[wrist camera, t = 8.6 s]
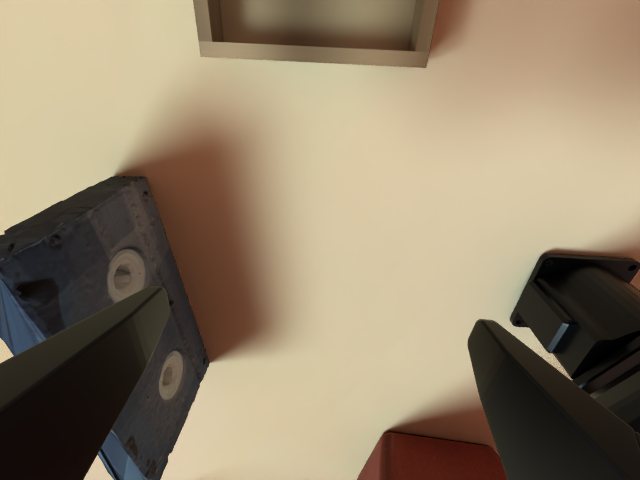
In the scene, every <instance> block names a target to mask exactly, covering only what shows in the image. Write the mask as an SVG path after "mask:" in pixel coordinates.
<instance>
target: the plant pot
mask: <svg viewBox="0 0 640 480" xmlns="http://www.w3.org/2000/svg"><path fill="white" fill-rule="evenodd" d="M357 480H508V479H507V476H506V473H505V470H504V467H503V464H502V462H501V459H500V456H499V455H498V454H497V453H496V452H495V451H494V450H493V449H492V448H491V447H488V446H483V445H476V444H469V443H462V442H455V441H449V440H441V439H434V438H427V437H420V436H413V435H406V434H399V433H386V434H384V435H382V437H381V438H380V440H379V442H378V443H377V445H376V447H375V448H374V450H373V452H372V454H371V456H370V457H369V459H368V461H367V463H366V464H365V466H364V468H363V470H362V471H361V473H360V475H359V477H358V479H357Z"/></svg>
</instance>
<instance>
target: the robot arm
mask: <svg viewBox="0 0 640 480" xmlns="http://www.w3.org/2000/svg"><path fill="white" fill-rule="evenodd" d="M549 260H550V261H549ZM547 261H549V262H547ZM546 262H547V263H546ZM639 269H640V263H639V262H638V261H636V260H635V259H632V258H615V257H598V256H581V255H564V254H545V255H543V256H541V257H540V258H539V260H538V262H537V264H536V266H535V268H534V270H533V272H532V274H531V276H530V278H529V280H528V282H527V284H526V286H525V288H524V290H523V293H522V295H521V297H520V299H519V301H518V303H517V305H516V307H515V309H514V311H513V313H512V315H511V317H510V321H511V323H512V324H513V325H514V326H516V327H529V328H530V329H531V330H532V332H533V333H534V335H535V336H536V337H537V339H538V340H539V341H540V343H541V344H542V346H543V347H544V348H545V350H546V351H547V352H548V353H553V354H554V356H555V357H556V358H557V360H558V361H559V362H560V364H561V365H562V366H563V368H564V369H565V370H566V372H567V373H568V374H569V376H570V377H571V378H572V379H573V380H572V381H571V380H570V379H569V378H567V377H566V376H565V375H563V374H562V373H561V372H560V371H558V370H557V369H556V368H554V367H553V366H552V365H551V364H549V363H548V362H547V361H545V360H544V359H543V358H542V357H540V356H539V355H538V354H536V353H535V352H534V351H533V350H531V349H530V348H529V347H527V346H526V345H525V344H524V343H522V342H521V341H520V340H518V339H517V338H516V337H515V336H513V335H512V334H511V333H510V332H508V331H507V330H506V329H504V328H503V327H502V326H501V325H499V324H498V323H497V322H495V321H493V320H486V319H479V320H478V321H477V322H476V323H475V325H474V328H473V330H472V332H471V334H470V336H469V339H468V350H469V354H470V358H471V362H472V367H473V371H474V375H475V380H476V384H477V388H478V392H479V396H480V400H481V403H482V406H483V409H484V412H485V415H486V418H487V421H488V424H489V427H490V430H491V433H492V435H493V438H494V441H495V444H496V447H497V450H498V453H499V456H500V459H501V462H502V464H503V467H504V470H505V473H506V476H507V479H508V480H640V291H639V290H638V289H637V288H635V287H634V286H633V285H631V284H630V282H631V280H632V279H633V277H634V276H635V275H636V273H637V272H638V270H639ZM169 314H170V306H169V302H168V297H167V293H166V290H165V288H163V287H159V286H148V287H146V288H144V289H142V290H140V291H138V292H136V293H134V294H132V295H130V296H128V297H127V298H125V299H123V300H121V301H119V302H117V303H115V304H113V305H111V306H109V307H107V308H105V309H104V310H102V311H100V312H98V313H96V314H94V315H92V316H90V317H88V318H86V319H84V320H82V321H81V322H79V323H77V324H75V325H73V326H71V327H69V328H67V329H65V330H63V331H61V332H59V333H58V334H56V335H54V336H52V337H50V338H48V339H46V340H44V341H42V342H40V343H38V344H36V345H34V346H33V347H31V348H29V349H27V350H25V351H23V352H21V353H19V354H17V355H15V356H13V357H11V358H10V359H8V360H6V361H4V362H2V363H0V480H83V479H84V477H85V476H86V474H87V472H88V470H89V469H90V467H91V465H92V463H93V461H94V460H95V458H96V456H97V454H98V453H99V451H100V449H101V447H102V445H103V444H104V442H105V440H106V438H107V437H108V435H109V433H110V431H111V429H112V428H113V426H114V424H115V422H116V421H117V419H118V417H119V415H120V413H121V412H122V410H123V408H124V406H125V405H126V403H127V401H128V399H129V398H130V396H131V394H132V392H133V390H134V389H135V387H136V385H137V383H138V382H139V380H140V378H141V376H142V374H143V373H144V371H145V369H146V367H147V365H148V363H149V361H150V359H151V357H152V354H153V352H154V350H155V347H156V345H157V343H158V340H159V338H160V336H161V333H162V331H163V329H164V326H165V324H166V322H167V319H168V317H169Z"/></svg>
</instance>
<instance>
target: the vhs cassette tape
mask: <svg viewBox="0 0 640 480" xmlns="http://www.w3.org/2000/svg"><path fill="white" fill-rule="evenodd" d="M148 286H159V287H163V288H165V290H166V293H167V297H168V302H169V306H170V314H169V317H168V319H167V322H166V324H165V326H164V329H163V331H162V333H161V336H160V338H159V340H158V343H157V345H156V347H155V350H154V352H153V354H152V357H151V359H150V361H149V363H148V365H147V367H146V369H145V371H144V373H143V374H142V376H141V378H140V380H139V382H138V383H137V385H136V387H135V389H134V390H133V392H132V394H131V396H130V398H129V399H128V401H127V403H126V405H125V406H124V408H123V410H122V412H121V413H120V415H119V417H118V419H117V421H116V422H115V424H114V426H113V428H112V429H111V431H110V433H109V435H108V437H107V438H106V440H105V442H104V444H103V445H102V447H101V449H100V451H99V453H98V454H97V455H98V456H99V457H100V459H101V460H102V462H103V464H104V466H105V468H106V470H107V472H108V473H109V474H110V475H111V476H112V478H113V479H114V480H160V479H161V477H162V474H163V471H164V469H165V467H166V465H167V463H168V455H169V453H171V452H172V451H173V448H174V445H175V443H176V441H177V439H178V437H179V434H180V432H181V430H182V427H183V425H184V423H185V421H186V418H187V416H188V412H189V410H190V408H191V405H192V403H193V402H194V400H195V397H196V394H197V391H198V389H199V387H200V385H199V384H200V383H201V381H202V380H203V378H204V375H205V373H206V371H207V368H208V367H209V363H210V361H209V359H208V357H207V354H206V349H205V348H204V345H203V341H202V338H201V336H200V333H199V330H198V327H197V324H196V321H195V318H194V315H193V312H192V309H191V306H190V304H189V300H188V297H187V295H186V292H185V289H184V286H183V283H182V280H181V277H180V274H179V271H178V268H177V265H176V262H175V259H174V256H173V254H172V251H171V248H170V245H169V242H168V239H167V236H166V233H165V230H164V227H163V224H162V222H161V219H160V216H159V213H158V210H157V207H156V204H155V201H154V199H153V196H152V193H151V190H150V187H149V184H148V181H147V179H146V178H145V177H125V176H124V177H123V178H120V177H110V178H108V179H106V180H105V181H102V182H99V183H98V184H96V185H94V186H91V187H88V188H86V189H85V190H83V191H81V192H79V193H77V194H75V195H73V196H71V197H69V198H68V199H66V200H64V201H60V202H58V203H56V204H54V205H52V206H51V207H49V208H47V209H45V210H43V211H42V212H40V213H38V214H36V215H34V216H32V217H30V218H28V219H27V220H25V221H22V222H20V223H18V224H16V225H14V226H12V227H10V228H9V229H7V230H5V234H4V235H0V338H1V339H2V340H3V341H4V342H5V343H6V345H7V346H8V348H9V349H10V351H11V352H12V354H13V355H14V356H15V355H17V354H19V353H21V352H23V351H25V350H27V349H29V348H31V347H33V346H34V345H36V344H38V343H40V342H42V341H44V340H46V339H48V338H50V337H52V336H54V335H56V334H58V333H59V332H61V331H63V330H65V329H67V328H69V327H71V326H73V325H75V324H77V323H79V322H81V321H82V320H84V319H86V318H88V317H90V316H92V315H94V314H96V313H98V312H100V311H102V310H104V309H105V308H107V307H109V306H111V305H113V304H115V303H117V302H119V301H121V300H123V299H125V298H127V297H128V296H130V295H132V294H134V293H136V292H138V291H140V290H142V289H144V288H146V287H148Z"/></svg>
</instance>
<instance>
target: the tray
mask: <svg viewBox="0 0 640 480" xmlns="http://www.w3.org/2000/svg"><path fill="white" fill-rule="evenodd" d="M193 2H194V10H195V17H196V25H197V32H198V40H199V47H200V54H201V57H215V58H236V59H256V60H276V61H297V62H317V63H338V64H358V65H378V66H399V67H419V68H426V66H427V61H428V56H429V51H430V45H431V40H432V35H433V30H434V24H435V19H436V14H437V9H438V3H439V0H193Z"/></svg>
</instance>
